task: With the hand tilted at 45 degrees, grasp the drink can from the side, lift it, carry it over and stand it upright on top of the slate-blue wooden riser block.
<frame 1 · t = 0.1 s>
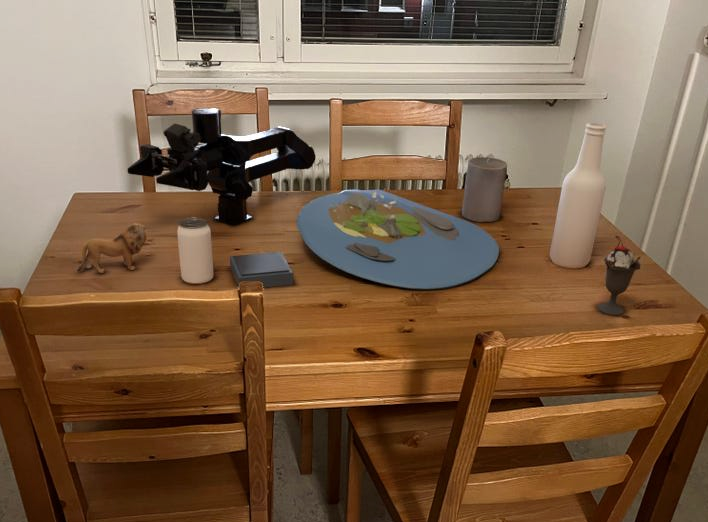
hand: (142, 175, 154), 17 cm above the table, tool horizontal, fingers open, 9 cm apart
serving platter: (396, 249, 168), on the table
alcohol: (568, 262, 165), on the table
riser: (261, 276, 153), on the table
lion figurine: (116, 268, 154), on the table
sundae: (610, 310, 145), on the table
can: (197, 279, 151), on the table
pillar candle: (480, 216, 188), on the table
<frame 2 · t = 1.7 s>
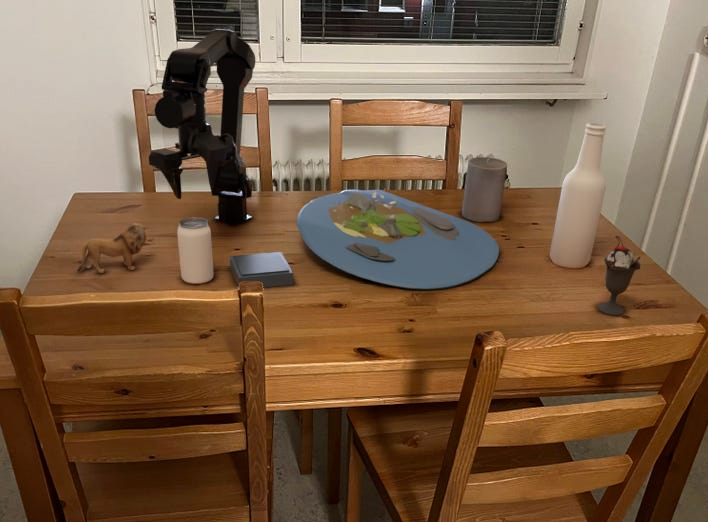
hand: (196, 194, 157), 13 cm above the table, tool pointing down, fingers open, 9 cm apart
nothing on the table moved.
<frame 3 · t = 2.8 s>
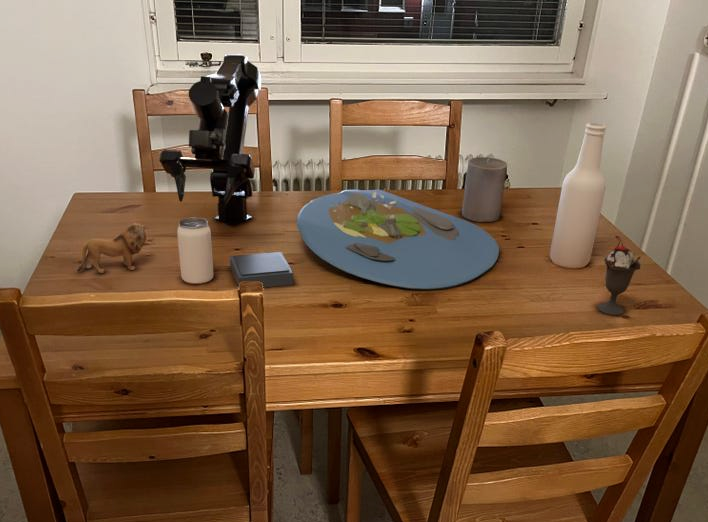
hand: (202, 201, 151), 13 cm above the table, tool tilted 45°, fingers open, 9 cm apart
nothing on the table moved.
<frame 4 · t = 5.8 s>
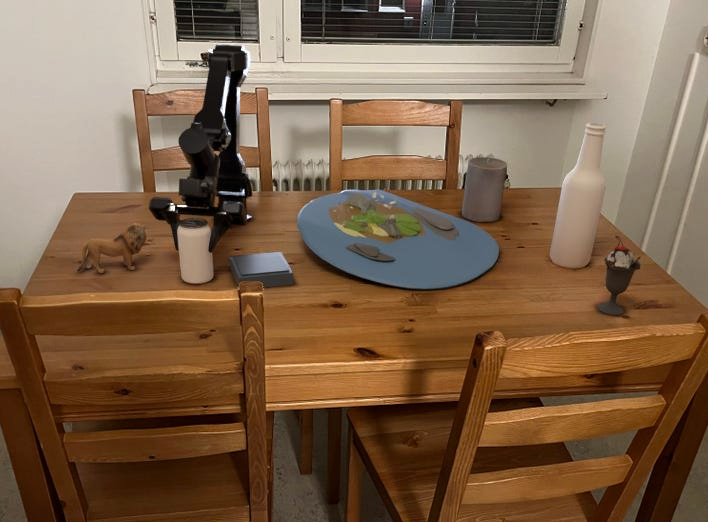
hand: (193, 250, 146), 7 cm above the table, tool tilted 45°, fingers closed on can, 6 cm apart
can: (197, 279, 151), on the table, touching gripper
everything else where it was.
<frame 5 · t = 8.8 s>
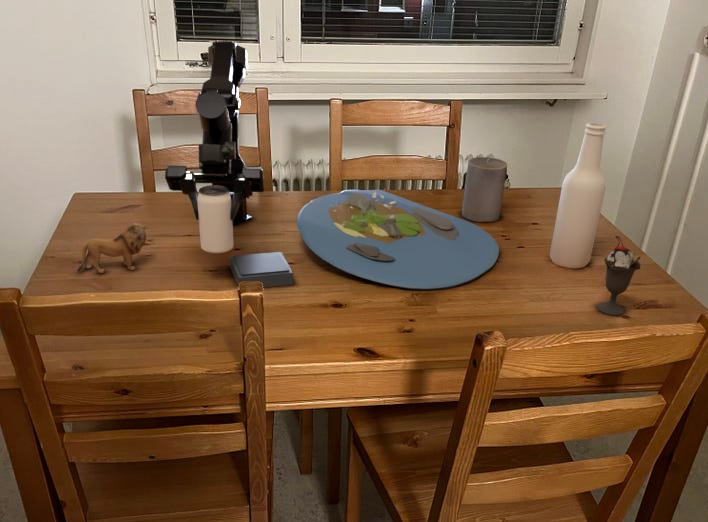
hand: (214, 219, 143), 13 cm above the table, tool tilted 45°, fingers closed on can, 6 cm apart
can: (217, 248, 148), point 6 cm above the table, touching gripper
everything else where it was.
when the fingers open (10 cm above the table, at t = 11.8 s): can stays where it is, resting on riser.
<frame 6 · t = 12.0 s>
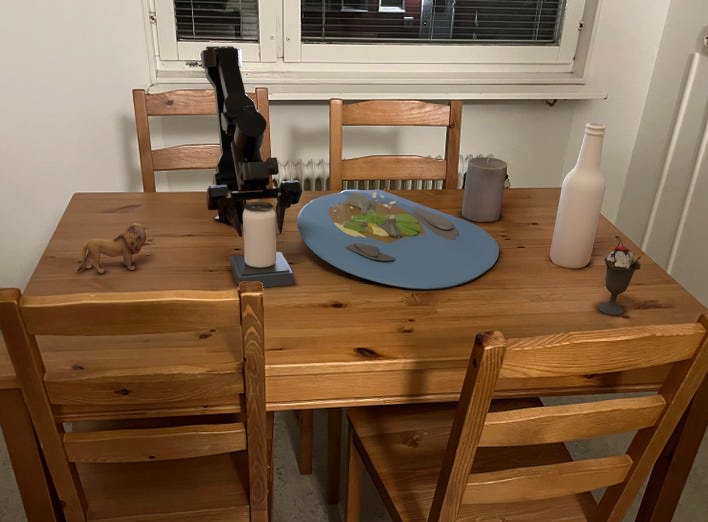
hand: (261, 234, 147), 10 cm above the table, tool tilted 45°, fingers open, 8 cm apart
can: (260, 263, 151), point 3 cm above the table, touching riser
everything else where it was.
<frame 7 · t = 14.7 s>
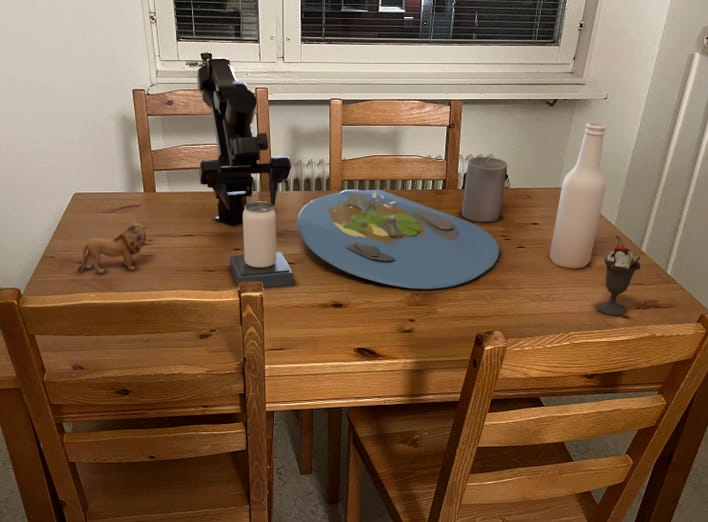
hand: (251, 207, 153), 12 cm above the table, tool tilted 45°, fingers open, 9 cm apart
nothing on the table moved.
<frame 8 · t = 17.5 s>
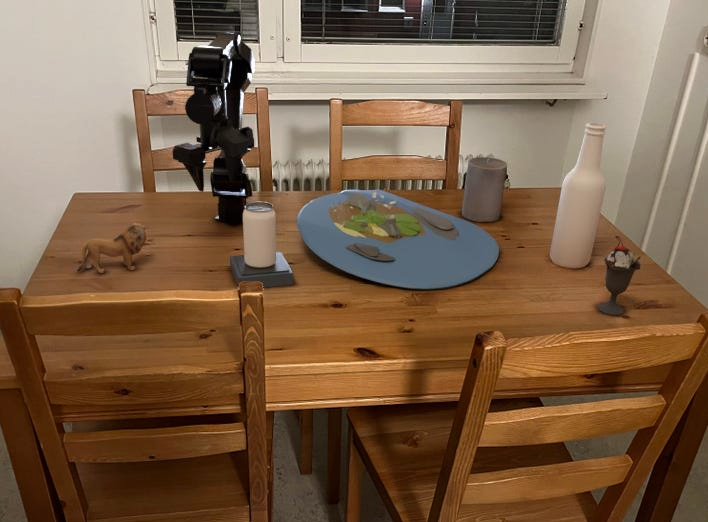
hand: (217, 186, 161), 13 cm above the table, tool pointing down, fingers open, 9 cm apart
nothing on the table moved.
at the end: can inside the target area on the riser (0.1 cm from its centre), point 2.8 cm above the riser's base; can tilted 0°; can touching riser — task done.
